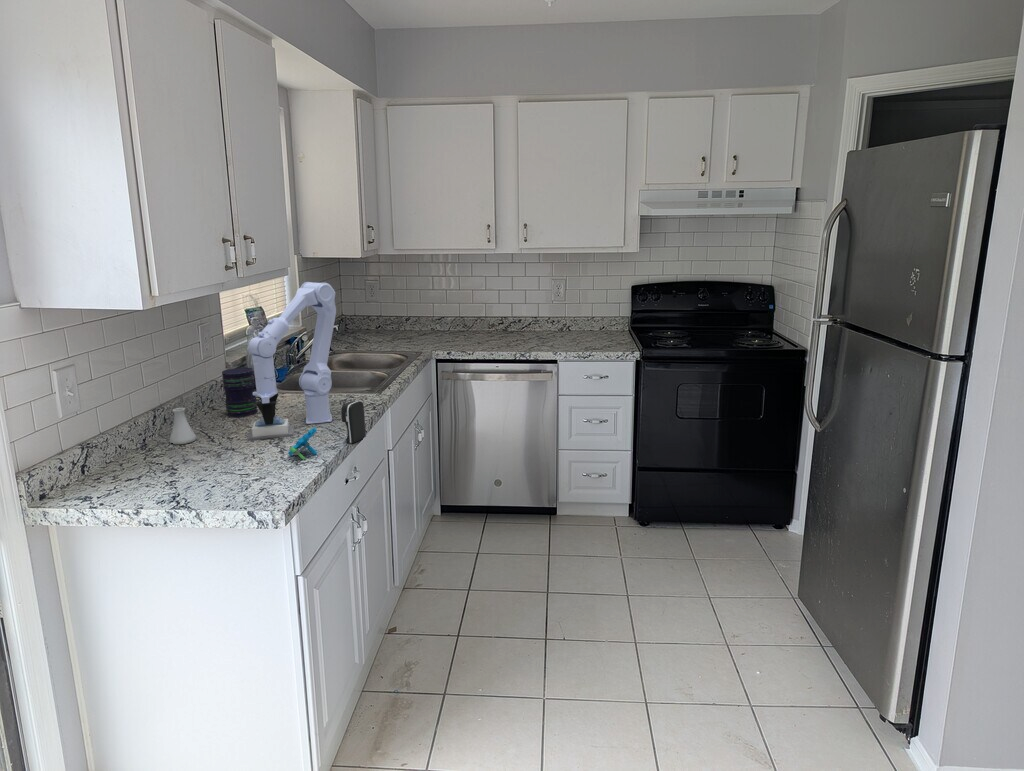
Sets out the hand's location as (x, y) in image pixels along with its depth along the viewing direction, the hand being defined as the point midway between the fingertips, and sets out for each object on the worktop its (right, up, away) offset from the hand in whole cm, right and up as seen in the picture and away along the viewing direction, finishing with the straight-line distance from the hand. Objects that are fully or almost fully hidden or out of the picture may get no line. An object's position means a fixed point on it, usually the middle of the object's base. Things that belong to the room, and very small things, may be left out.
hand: (270, 420), depth 212 cm
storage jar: (-18, +1, +25) cm, 30 cm away
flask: (-24, -6, -4) cm, 25 cm away
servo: (0, -3, +1) cm, 3 cm away
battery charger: (+27, -5, -8) cm, 29 cm away
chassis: (0, -4, +1) cm, 4 cm away
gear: (+16, -9, -20) cm, 27 cm away
